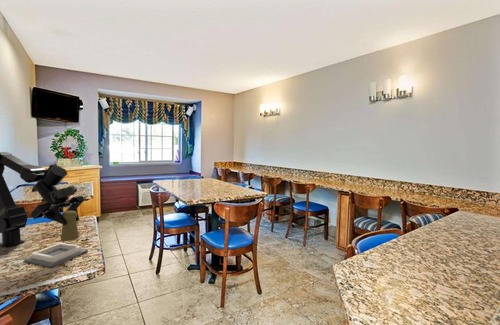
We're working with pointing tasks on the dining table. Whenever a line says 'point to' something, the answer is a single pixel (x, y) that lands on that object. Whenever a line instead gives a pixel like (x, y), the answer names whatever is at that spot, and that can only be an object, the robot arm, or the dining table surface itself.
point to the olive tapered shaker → (69, 226)
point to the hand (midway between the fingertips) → (72, 222)
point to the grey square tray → (55, 254)
